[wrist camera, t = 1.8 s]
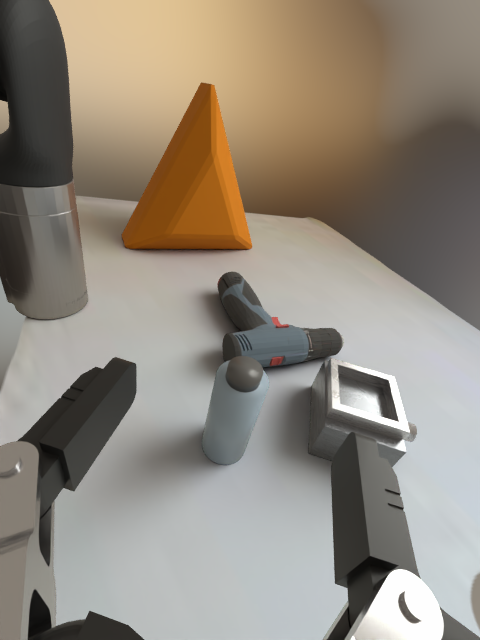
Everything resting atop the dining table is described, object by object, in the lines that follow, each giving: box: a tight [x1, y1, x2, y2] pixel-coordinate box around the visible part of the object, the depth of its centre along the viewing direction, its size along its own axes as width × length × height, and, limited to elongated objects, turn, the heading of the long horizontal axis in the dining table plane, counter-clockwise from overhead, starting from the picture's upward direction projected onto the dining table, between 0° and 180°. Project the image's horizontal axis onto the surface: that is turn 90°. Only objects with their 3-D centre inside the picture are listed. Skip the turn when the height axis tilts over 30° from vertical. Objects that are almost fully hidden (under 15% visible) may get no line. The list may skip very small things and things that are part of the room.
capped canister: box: [202, 356, 269, 465], centre depth 28 cm, size 5×5×11 cm
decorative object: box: [122, 83, 252, 249], centre depth 62 cm, size 30×15×30 cm, turn 114°
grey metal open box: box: [309, 358, 417, 467], centre depth 34 cm, size 11×10×6 cm
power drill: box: [218, 272, 344, 367], centre depth 48 cm, size 5×19×20 cm
